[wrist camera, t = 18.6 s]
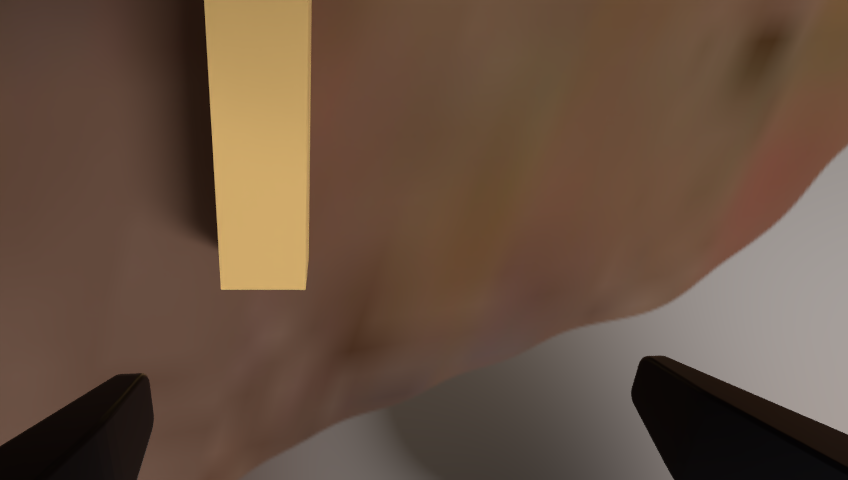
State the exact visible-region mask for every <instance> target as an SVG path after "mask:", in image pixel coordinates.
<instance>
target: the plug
mask: <svg viewBox="0 0 848 480" xmlns="http://www.w3.org/2000/svg"><path fill="white" fill-rule="evenodd" d="M311 7H312V0H204V8H205V25H206V42H207V59H208V76H209V93H210V110H211V127H212V144H213V161H214V178H215V195H216V212H217V229H218V246H219V263H220V280H221V290H305V289H306V279H307V269H308V259H309V175H310V91H311Z"/></svg>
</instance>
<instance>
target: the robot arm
mask: <svg viewBox="0 0 848 480" xmlns="http://www.w3.org/2000/svg"><path fill="white" fill-rule="evenodd" d="M631 396H632V401H633V403H634V406H635V407H636V409H637V411H638V413H639V415H640V417H641V419H642V421H643V423H644V425H645V427H646V428H647V430H648V432H649V434H650V436H651V438H652V440H653V442H654V444H655V446H656V448H657V450H658V451H659V453H660V455H661V457H662V459H663V461H664V463H665V465H666V466H667V468H668V470H669V472H670V474H671V475H672V477H673V479H674V480H848V435H847V434H845V433H843V432H840V431H838V430H836V429H834V428H831V427H829V426H827V425H824V424H822V423H819V422H817V421H815V420H813V419H810V418H808V417H805V416H803V415H801V414H799V413H796V412H794V411H792V410H789V409H787V408H784V407H782V406H780V405H778V404H775V403H773V402H771V401H768V400H766V399H763V398H761V397H759V396H756V395H754V394H752V393H750V392H747V391H745V390H742V389H740V388H738V387H736V386H733V385H731V384H729V383H726V382H724V381H721V380H719V379H717V378H715V377H712V376H710V375H707V374H705V373H703V372H700V371H698V370H696V369H694V368H691V367H689V366H686V365H684V364H682V363H680V362H677V361H675V360H673V359H670V358H668V357H665V356H646V357H644V358H642V359H641V361H640V363H639V366H638V369H637V373H636V376H635V379H634V383H633V386H632V390H631ZM153 421H154V413H153V405H152V398H151V390H150V383H149V379H148V377H147V376H146V375H145V374H143V373H137V374H118V375H116V376H114V377H112V378H111V379H109V380H107V381H106V382H104V383H102V384H101V385H99V386H97V387H96V388H94V389H93V390H91V391H89V392H88V393H86V394H84V395H83V396H81V397H80V398H78V399H76V400H75V401H73V402H71V403H70V404H68V405H67V406H65V407H63V408H62V409H60V410H58V411H57V412H55V413H54V414H52V415H50V416H49V417H47V418H45V419H44V420H42V421H40V422H39V423H37V424H36V425H34V426H32V427H31V428H29V429H27V430H26V431H24V432H23V433H21V434H19V435H18V436H16V437H14V438H13V439H11V440H10V441H8V442H6V443H5V444H3V445H1V446H0V480H137V478H138V474H139V471H140V468H141V465H142V461H143V458H144V455H145V451H146V448H147V445H148V442H149V438H150V435H151V432H152V428H153Z"/></svg>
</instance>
